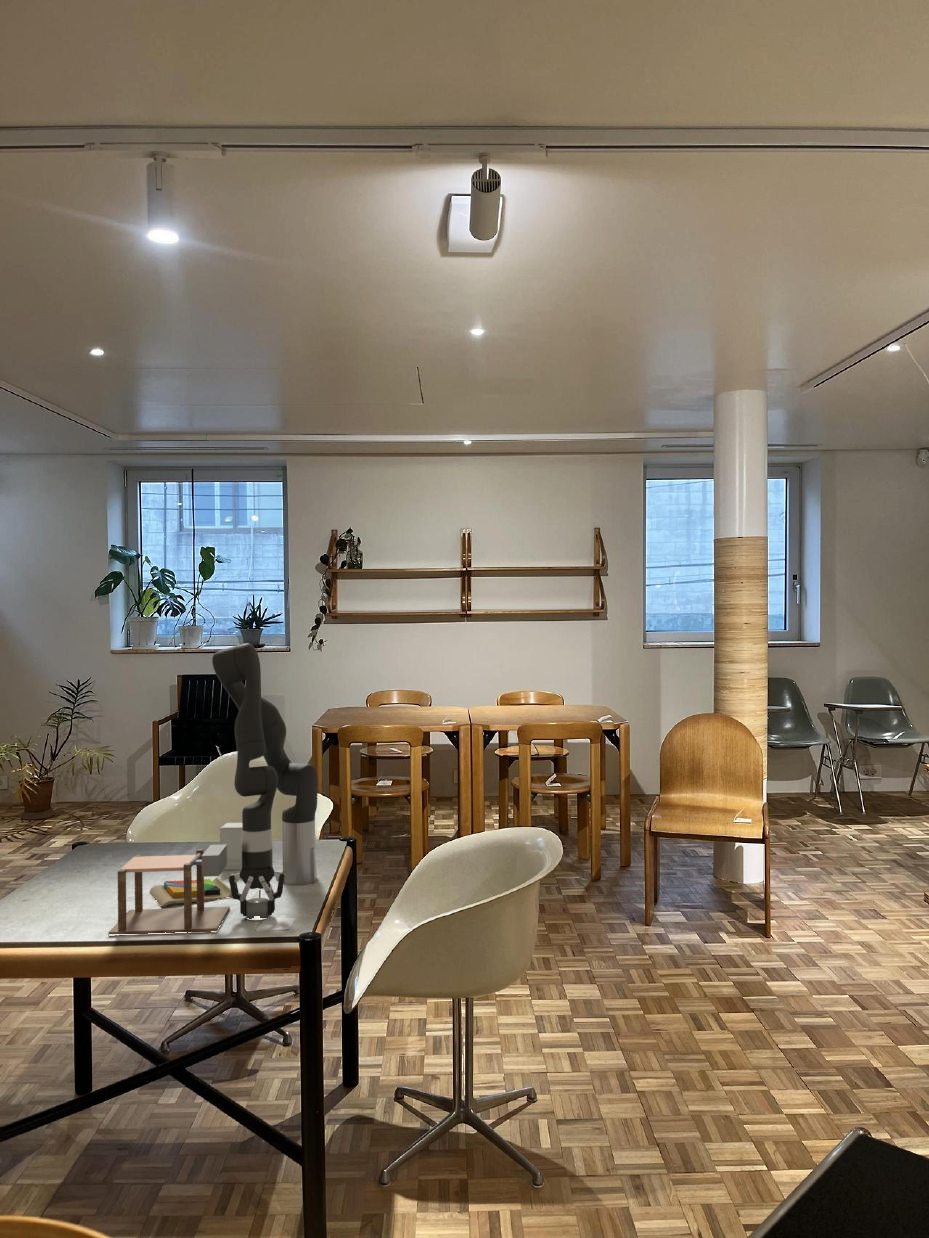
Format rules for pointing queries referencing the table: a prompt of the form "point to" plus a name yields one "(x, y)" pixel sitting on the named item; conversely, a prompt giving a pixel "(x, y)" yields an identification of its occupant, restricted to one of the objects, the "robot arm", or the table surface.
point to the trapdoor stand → (167, 918)
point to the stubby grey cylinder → (257, 908)
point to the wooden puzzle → (175, 891)
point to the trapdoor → (182, 862)
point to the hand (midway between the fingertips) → (257, 914)
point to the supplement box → (232, 844)
